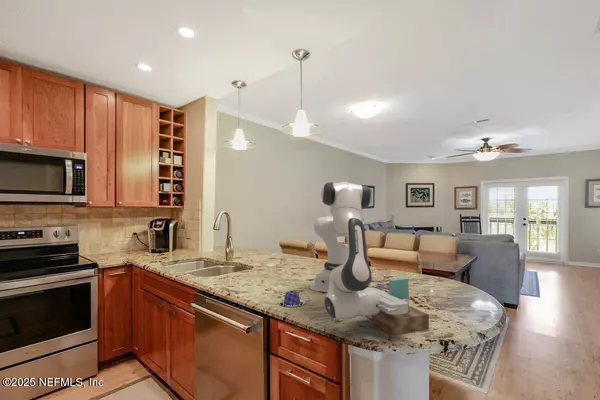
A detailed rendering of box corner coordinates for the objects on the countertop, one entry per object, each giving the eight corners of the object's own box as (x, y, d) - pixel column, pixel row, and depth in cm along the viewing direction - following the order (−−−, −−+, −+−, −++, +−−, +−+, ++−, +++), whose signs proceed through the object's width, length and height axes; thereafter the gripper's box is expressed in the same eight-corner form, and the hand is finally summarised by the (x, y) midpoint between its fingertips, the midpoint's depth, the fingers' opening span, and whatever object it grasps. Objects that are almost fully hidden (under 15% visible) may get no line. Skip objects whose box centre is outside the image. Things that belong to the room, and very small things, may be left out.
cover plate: (393, 327, 105) (392, 280, 105) (389, 325, 107) (389, 279, 107) (409, 325, 107) (408, 278, 108) (405, 323, 109) (404, 277, 110)
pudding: (310, 305, 131) (310, 293, 131) (287, 310, 125) (287, 297, 125) (296, 298, 141) (296, 287, 141) (274, 302, 135) (274, 291, 135)
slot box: (391, 335, 99) (391, 320, 99) (371, 322, 110) (371, 309, 110) (428, 328, 104) (428, 314, 104) (406, 316, 115) (405, 304, 115)
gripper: (387, 302, 93) (421, 297, 98) (354, 286, 112) (384, 282, 117) (387, 321, 93) (421, 316, 98) (354, 302, 112) (384, 298, 117)
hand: (401, 297), depth 108 cm, fingers open, 6 cm apart
